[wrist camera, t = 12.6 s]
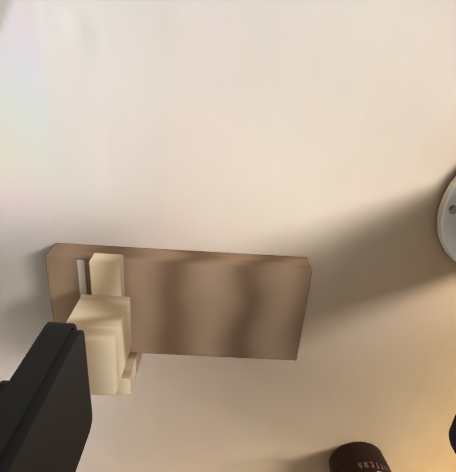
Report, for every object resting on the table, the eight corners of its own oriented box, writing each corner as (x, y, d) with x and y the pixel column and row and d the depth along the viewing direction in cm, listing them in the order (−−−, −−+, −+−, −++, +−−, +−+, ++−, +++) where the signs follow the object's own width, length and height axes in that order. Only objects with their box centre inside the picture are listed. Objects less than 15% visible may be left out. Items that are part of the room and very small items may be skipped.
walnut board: (306, 257, 38) (312, 271, 36) (292, 343, 42) (296, 360, 40) (56, 243, 37) (44, 256, 35) (66, 332, 41) (56, 349, 39)
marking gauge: (138, 242, 37) (110, 305, 28) (141, 364, 43) (119, 448, 34) (93, 240, 37) (50, 302, 28) (102, 362, 43) (69, 446, 34)
